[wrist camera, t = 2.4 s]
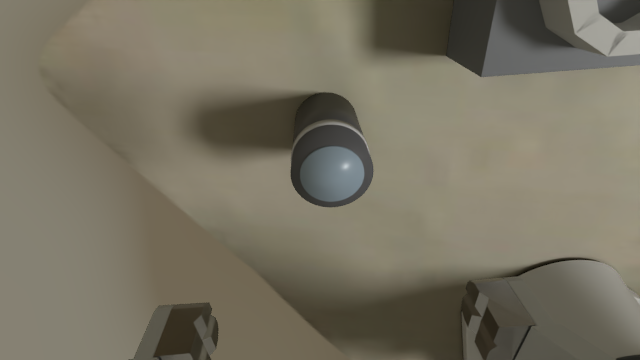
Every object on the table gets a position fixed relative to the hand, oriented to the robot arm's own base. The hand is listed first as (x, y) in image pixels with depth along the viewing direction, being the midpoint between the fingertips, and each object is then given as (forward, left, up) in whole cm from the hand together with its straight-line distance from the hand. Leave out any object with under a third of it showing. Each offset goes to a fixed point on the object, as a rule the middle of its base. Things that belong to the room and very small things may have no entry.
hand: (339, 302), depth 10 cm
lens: (0, 0, -15) cm, 15 cm away
